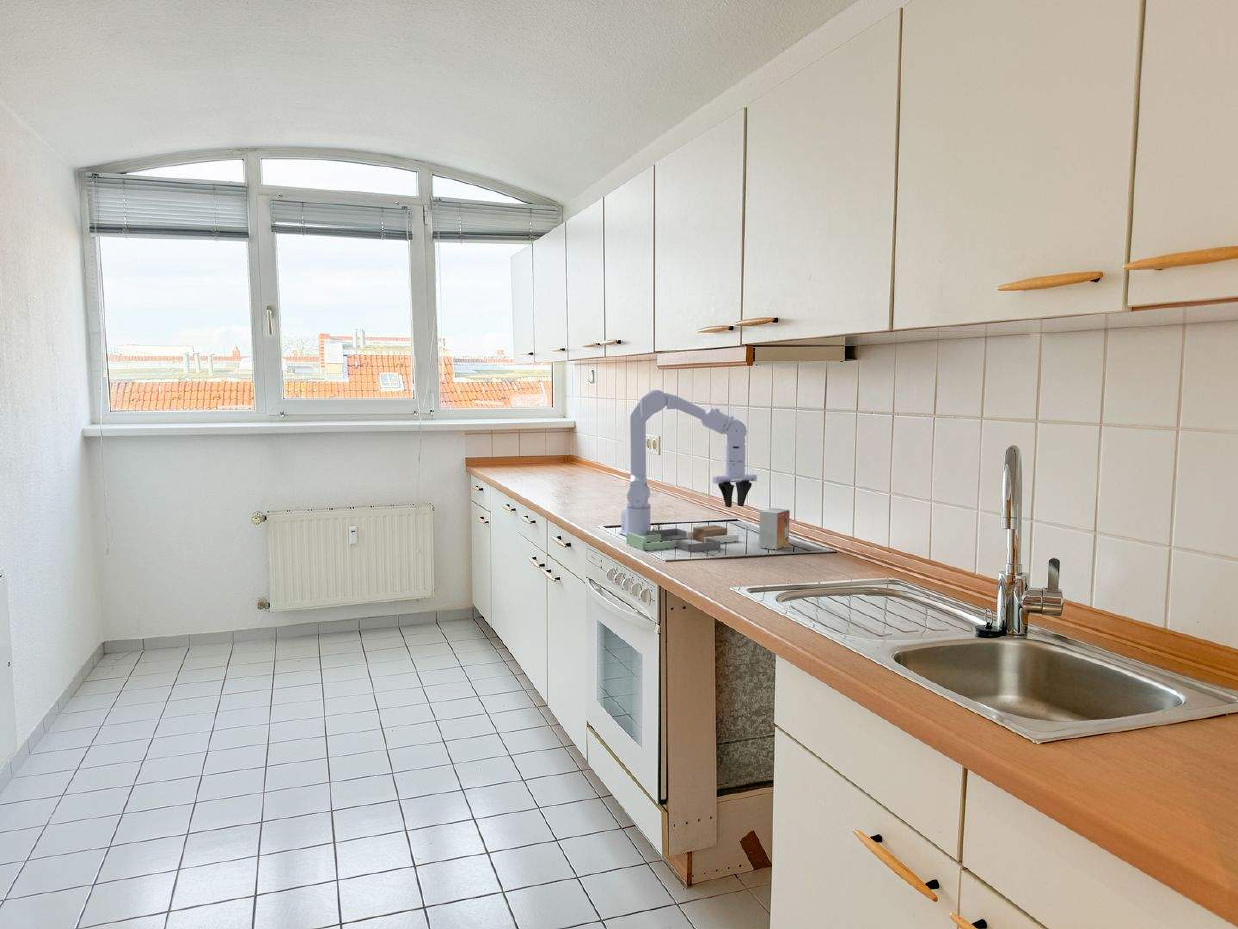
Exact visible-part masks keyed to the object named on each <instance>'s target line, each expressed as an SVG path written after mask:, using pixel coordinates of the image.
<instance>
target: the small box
mask: <svg viewBox="0 0 1238 929" xmlns="http://www.w3.org/2000/svg"><path fill="white" fill-rule="evenodd" d="M790 517H791V516H790V509H783V508H774V507H772V508H768V509H766V510H760V511H759V523H758V524H759V527H758V528H759V530H758V532H759V533H758V534H759V535H758V548H759V547H760V548H759V549H765V548H767V550H773V549H775V551H777V550H780V549H782V548H781V547H784V546H788V545H790V544H789V543H790V542H789V541H790ZM788 547H789V546H788ZM779 548H780V549H779ZM784 548H785V547H784Z"/></svg>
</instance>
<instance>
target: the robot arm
mask: <svg viewBox="0 0 1238 929" xmlns="http://www.w3.org/2000/svg"><path fill="white" fill-rule="evenodd" d="M664 408H666V410H678V411H680V412H683V413H685V414H688V415H689V416H692V417H695V418H696V419H699V420H700V421H701V423H702V425H703V427H705V428H708V429H710V430H712V431H714V432H716V433H719V435H726V436H727V437H726V445H725V471H724V472H725V474H723V475H718V476H717V475H716V476H712V484H716V485H718V488H719V490H720V492H721V494H722V498H723V501H724V506H725V508H730V509H731V508H732V505H733V492H734V488H736V494H737V496H736V497H737V498H736V501H737V502H736V503H737V507H744V506H745V502H746V499H747V496H748V494H749V492H750V489H751V487H752V486H753V483H752V482H757V481H758V475H757V474H754V473H753V474H746V436H747V434H748V430H747V427H746V425H745V424H744V423H743V422H742V421H740V419H735V417H734V416H733V415H731V416H730V415H728V414H725V413H723V412H721V411H720V408H717V407H715V408H713V407H712V408H711V407H710V408H708V409H704V408H702V407H700V406H697V405H695V404H694V403H692V402H690V401H688V400H687V399H684V398H683V397H680V396H678V395H675V394H672V393H669V392H664V391H662V390H659V389H654V390H651V391H649V392H647V393H646V394H644V395H643V396H641V398H640V400H639V402H638V403H637V405H636V406H635V408H634V409H633V411H632V412H631V414H630V418H629V420H630V426H629V428H630V431H629V432H630V433H629V434H630V480H629V484H630V485H629V490H628V491H627V493H626V499H627V501H628V503H626V506H624V507H623V508H622V511H621V526H620V528H621V531H618V534H619V535H622V534H623V535H622V536H625V537H627V532H630V533H633V534H636V535H639V536H647V531H651V504H650V503H649V502H648V501H649V497H651V496H650V495H651V490H650V488H649V486H648V482H647V478H648V477H647V425H646V424H647V421H648V420H649V419H650V418H651V417H652V416H653V415H654V414H656V413H658V412H660V411H662V410H663V409H664ZM732 483H735V484H732Z"/></svg>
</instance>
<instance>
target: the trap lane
mask: <svg viewBox="0 0 1238 929" xmlns="http://www.w3.org/2000/svg"><path fill="white" fill-rule="evenodd" d="M689 539H692V540H693V530H692V531H687V530H683V529H680V528H676V527H675V528H664V529H656V530H655V529H654V530H653V529H652V530H650V531H647V536H639V535H636V534H633V533H630V532H627V536H626V545H627V544H629V545H631V546H630V547H632V546H635V547H638V548H640V549H642V550H641V551H643V550H649V551H654V550H653V549H658V550H666V549H665V548H668V549H675V548H674V547H678V548H677V549H679V548H680V549H679V550H683V551H686V552H689V553H691V552H692V553H693V552H700V551H710V550H718V549H719V550H720V549H721V544H723V543H724V542H727V543H734V541H736V542H739V533H738V534H737V533H736V534H727V535H724V536H714V537H704V543H702V542H698V543H697V542H695V543H687V542H684V541H681V540H689ZM671 540H672V541H671ZM660 541H662V542H660ZM647 542H651V543H647ZM724 544H725V543H724ZM629 545H628V546H629ZM635 547H634V548H635ZM640 549H639V550H640Z"/></svg>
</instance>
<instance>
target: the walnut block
mask: <svg viewBox="0 0 1238 929" xmlns="http://www.w3.org/2000/svg"><path fill="white" fill-rule="evenodd" d="M692 531H693V538H692V540H693V541H696V542H698V543H704V537H714V536H724V535H728V527H726V526H720V525H717V524H712V525H711V524H710V525H704V526H702V525H701V526H694V527H692Z"/></svg>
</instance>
